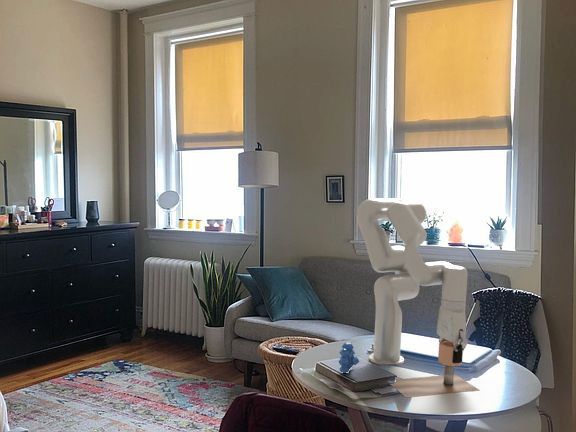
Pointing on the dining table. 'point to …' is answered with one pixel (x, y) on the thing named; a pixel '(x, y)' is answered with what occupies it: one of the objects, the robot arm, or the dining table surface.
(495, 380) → the dining table surface
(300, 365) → the dining table surface
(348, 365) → the grapes
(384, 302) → the robot arm
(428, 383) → the stand
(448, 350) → the collar
